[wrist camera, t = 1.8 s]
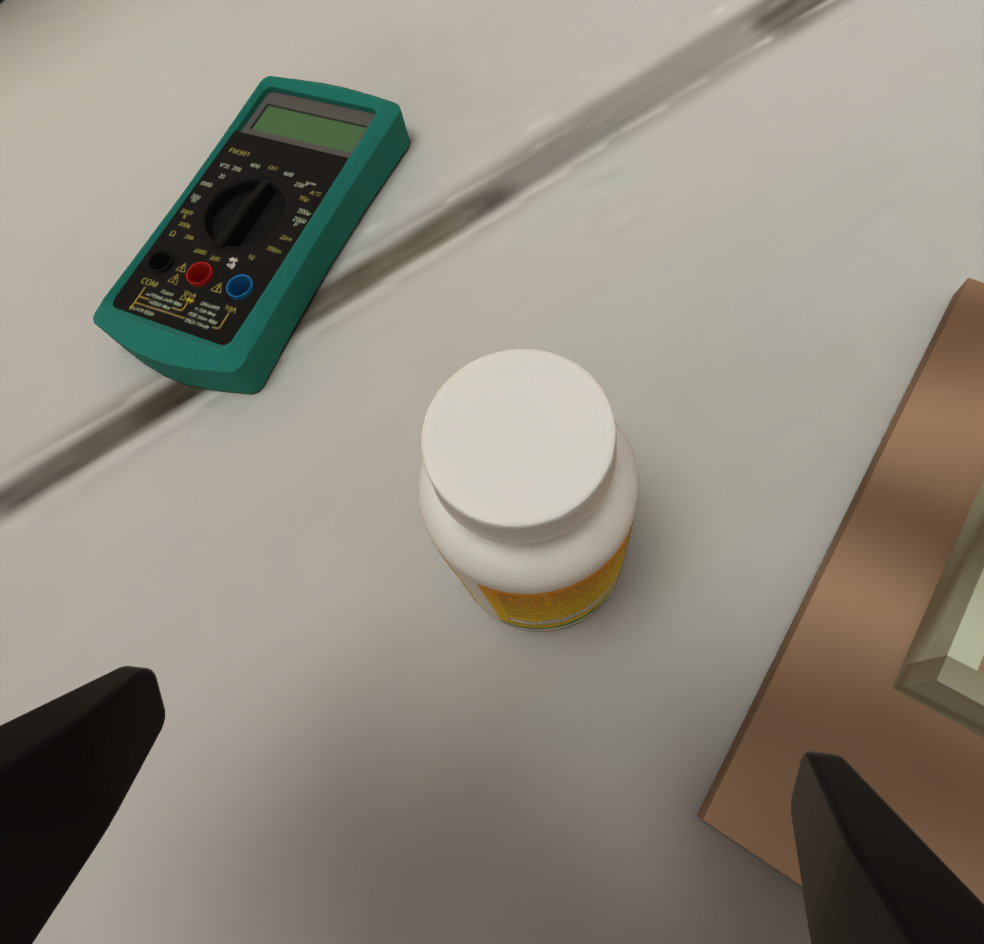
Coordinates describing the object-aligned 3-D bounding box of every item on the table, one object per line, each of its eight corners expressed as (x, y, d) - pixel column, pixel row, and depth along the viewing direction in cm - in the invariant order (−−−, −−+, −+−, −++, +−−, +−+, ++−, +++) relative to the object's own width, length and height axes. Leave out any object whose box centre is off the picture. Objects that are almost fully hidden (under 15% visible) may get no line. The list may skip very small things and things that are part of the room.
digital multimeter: (116, 361, 28) (66, 322, 25) (288, 115, 32) (261, 58, 30) (257, 415, 26) (219, 378, 23) (419, 145, 30) (403, 88, 28)
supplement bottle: (431, 570, 22) (331, 460, 13) (525, 451, 23) (491, 278, 15) (560, 670, 21) (542, 619, 12) (655, 536, 22) (704, 398, 13)
